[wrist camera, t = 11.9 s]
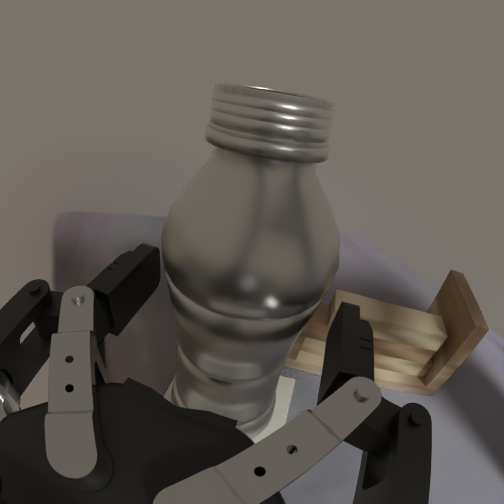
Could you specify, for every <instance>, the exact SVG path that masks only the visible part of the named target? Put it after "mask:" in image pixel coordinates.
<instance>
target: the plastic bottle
mask: <svg viewBox="0 0 504 504" xmlns="http://www.w3.org/2000/svg"><path fill="white" fill-rule="evenodd" d="M333 106H334V103H333V102H330V101H327V100H323V99H319V98H315V97H311V96H307V95H303V94H298V93H293V92H288V91H282V90H277V89H270V88H264V87H257V86H250V85H240V84H229V83H215V89H213V98H212V107H211V116H210V122H209V123H207V124H206V134H205V139H206V141H207V142H209V143H211V144H212V145H214V149H213V152H212V156H211V158H210V159H209V160H208V161H207V162H206V163H205V164H204V165H203V166H202V167H201V168H200V170H198V172H197V173H196V174H195V175H194V176H193V177H192V178H191V179H190V180H189V182H188V183H187V184H186V186H185V187H184V189H183V190H182V191H181V193H180V194H179V196H178V197H177V199H176V200H175V201H174V203H173V204H172V206H171V207H170V209H169V212H168V215H167V218H166V221H165V224H164V227H163V230H162V235H161V243H162V255H163V262H164V268H165V272H166V277H167V282H168V287H169V292H170V297H171V301H172V306H173V310H174V317H175V327H176V335H177V345H178V358H177V369H176V374H175V377H174V381H173V385H172V391H171V403H172V404H174V405H176V406H178V407H183V408H190V409H197V410H204V411H210V412H213V413H216V414H219V415H222V416H225V417H228V418H231V419H234V420H237V421H238V422H237V425H236V428H237V429H239V430H240V431H242V432H243V433H245V434H246V435H247V436H248V437H249V438H250V439H254V438H255V437H257V436H258V435H259V434H260V433H262V431H263V430H264V429H265V428H266V427H267V426H268V424H269V423H270V421H271V419H272V416H273V412H274V408H275V403H276V389H277V385H278V381H279V377H280V374H281V370H282V368H283V366H284V364H285V362H286V360H287V358H288V356H289V354H290V352H291V350H292V348H293V346H294V344H295V342H296V340H297V338H298V337H299V335H300V333H301V332H302V330H303V329H304V327H305V326H306V324H307V323H308V321H309V320H310V318H311V316H312V315H313V313H314V312H315V310H316V309H317V307H318V305H319V304H320V302H321V301H322V299H323V297H324V295H325V294H326V293H327V290H328V288H329V286H330V284H331V282H332V280H333V278H334V276H335V274H336V272H337V270H338V267H339V248H340V234H339V231H338V228H337V225H336V221H335V218H334V215H333V212H332V209H331V206H330V204H329V202H328V200H327V197H326V195H325V193H324V191H323V189H322V186H321V184H320V182H319V180H318V178H317V176H316V163H320V162H324V161H326V160H327V159H328V154H329V150H330V144H329V143H328V138H329V133H330V128H331V123H332V118H333V113H334V109H333Z"/></svg>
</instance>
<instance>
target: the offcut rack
mask: <svg viewBox="0 0 504 504" xmlns="http://www.w3.org/2000/svg"><path fill="white" fill-rule="evenodd" d="M342 301H343V302H347V303H351V304H355V305H358V306H360V319H363V320H366V321H368V322H369V324H370V326H371V328H372V330H373V340H374V341H373V343H374V350H373V351H374V381H375V383H376V384H377V386H378V387H379V388H384V389H390V390H396V391H402V392H409V393H416V394H423V395H431V396H433V395H434V394H435V392H436V391H437V390H438V389H439V388H440V387H441V386H442V385H443V384H444V383H445V382H446V381H447V380H448V379H449V378H450V376H451V375H452V374H453V373H454V372H455V371H456V370H457V369H458V367H459V366H460V365H461V364H462V363H463V362H464V360H465V359H466V358H467V357H468V356H469V354H470V353H471V352H472V351H473V349H474V348H475V347H476V346H477V344H478V343H479V342H480V340H481V339H482V338H483V337H484V335H485V334H486V332H487V331H488V330H489V329H488V327H487V324H486V322H485V319H484V317H483V315H482V312H481V310H480V308H479V306H478V304H477V301H476V299H475V297H474V295H473V293H472V291H471V289H470V287H469V285H468V283H467V281H466V279H465V277H464V275H463V274H462V273H459V272H457V271H453V270H450V272H449V274H448V276H447V278H446V280H445V282H444V283H443V285H442V287H441V289H440V291H439V292H438V294H437V296H436V297H435V299H434V301H433V303H432V304H431V306H430V308H429V309H428V311H427V312H422V311H418V310H415V309H411V308H407V307H403V306H399V305H395V304H391V303H388V302H384V301H380V300H376V299H372V298H369V297H365V296H361V295H357V294H354V293H350V292H346V291H342V290H339V289H336V291H335V293H334V296H333V298H332V301H331V303H330V305H328V304H324V303H320V304H319V305H318V307H317V309H316V310H315V312H314V313H313V315H312V316H311V318H310V320H309V321H308V323H307V324H306V326H305V327H304V329H303V330H302V332H301V333H300V335H299V337H298V338H297V340H296V342H295V344H294V346H293V348H292V350H291V352H290V354H289V356H288V358H287V360H286V362H285V364H284V366H285V367H289V368H293V369H296V370H300V371H304V372H308V373H312V374H317V375H322V368H323V361H324V353H325V346H326V339H327V335H328V331H329V329H330V326H331V324H332V322H333V320H334V317H335V315H336V313H337V311H338V308H339V306H340V304H341V302H342Z"/></svg>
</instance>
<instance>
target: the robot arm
mask: <svg viewBox="0 0 504 504" xmlns="http://www.w3.org/2000/svg"><path fill="white" fill-rule="evenodd" d="M159 282H160V251H159V249H158V248H157V247H154V246H151V245H147V244H144V243H142V244H141V245H139V246H138V247H137V248H136V249H135V250H134V251H133V252H132V251H128V252H126V253H124V254H122V255H120V256H119V257H118V258H116V259H115V260H114V261H113V263H111V264H110V265H109V266H108V267H107V269H106V268H105V269H104V270H103V271H102V272H101V273H100V274H99V275H98V276H97V277H96V278H95V279H94V280H93V281H91V282H90V283H89V284H88V285H87V286H75V287H72V288H70V289H68V290H67V291H66V292H65V293H61V292H54V291H51V290H50V287H49V284H48V283H47V282H46V281H45V280H39V279H38V280H33V281H31V282H29V283H27V284H26V285H25V286H24V287H23V288H22V289H21V290H20V291H19V292H18V293H17V294H16V295H15V296H13V297H12V299H10V300H9V302H7V303H6V305H4V307H3V308H2V309H1V310H0V504H286V503H285V501H284V499H283V497H282V495H281V493H280V491H281V490H282V489H284V488H285V487H286V486H288V485H289V484H291V483H292V482H293V481H295V480H296V479H297V478H299V477H300V476H301V475H303V474H304V473H305V472H306V471H308V470H309V469H310V468H311V467H313V466H314V465H315V464H316V463H318V462H319V461H320V460H321V459H322V458H324V457H325V456H326V455H327V454H328V453H330V452H331V451H332V450H333V449H334V448H335V447H337V446H338V445H339V444H340V443H341V442H342V441H345V442H347V443H349V444H351V445H353V446H355V447H357V448H359V449H361V450H363V454H362V460H361V466H360V471H359V476H358V482H357V486H356V491H355V496H354V500H353V504H428V500H429V489H430V476H431V453H432V422H431V416H430V414H429V412H428V411H427V409H426V408H425V407H423V406H422V405H420V404H417V403H408V404H406V405H404V406H403V407H399V406H397V405H395V404H393V403H391V402H389V401H388V400H386V399H385V398H383V397H382V396H381V391H380V389H379V387H378V386H377V384H376V383H375V381H374V351H373V350H374V343H373V341H374V340H373V330H372V328H371V326H370V324H369V322H368V321H366V320H363V319H360V306H358V305H355V304H351V303H347V302H343V301H342V302H341V304H340V306H339V308H338V311H337V313H336V315H335V317H334V320H333V322H332V324H331V326H330V329H329V331H328V335H327V339H326V346H325V353H324V361H323V368H322V375H321V382H320V388H319V395H318V401H317V406H316V407H315V408H314V409H312V410H306V411H304V412H302V413H301V414H299V415H298V416H297V417H295V418H294V419H292V420H291V421H289V422H288V423H287V424H285V425H284V426H282V427H281V428H279V429H278V430H276V431H275V432H273V433H272V434H270V435H268V436H267V437H265V438H264V439H262V440H261V441H259V442H257V443H256V444H255V443H254V442H253V440H252V439H250V438H249V437H248V436H247V435H246V434H245V433H243V432H242V431H240V430H239V429H237V428H236V425H237V422H238V421H237V420H234V419H231V418H228V417H225V416H222V415H219V414H216V413H213V412H210V411H204V410H197V409H190V408H183V407H178V406H176V405H174V404H172V403H171V402H170V401H168V400H167V399H166V398H164V397H163V396H162V395H160V394H159V393H158V392H156V391H155V390H154V389H152V388H150V387H148V386H145V385H143V384H141V383H139V382H137V381H135V380H133V379H130V378H127V380H126V381H125V383H124V384H121V383H111V382H110V378H109V373H108V362H107V349H106V338H105V336H106V335H107V334H108V332H109V333H111V334H113V335H115V336H118V335H119V334H120V333H121V331H122V330H123V329H124V328H125V326H126V325H127V324H128V323H129V321H130V320H131V319H132V318H133V316H134V315H135V314H136V313H137V312H138V310H139V309H140V308H141V307H142V305H143V304H144V303H145V302H146V301H147V299H148V298H149V297H150V296H151V294H152V293H153V292H154V291H155V290H156V288H157V287H158V284H159ZM32 322H33V323H34V325H35V328H34V329H33V330H32V331H31V333H30V334H29V335H28V336H27V337H26V338H25V340H24V341H23V342H22V343H21V344H20V337H21V335H22V333H23V332H24V331H25V330H26V329H27V327H28V326H29V325H30V324H31V323H32ZM49 357H50V361H49V383H48V384H49V387H48V402H45V403H42V404H39V405H36V406H33V407H30V408H26V409H23V410H21V408H20V407H19V405H20V396H21V395H22V393H23V392H24V391H25V389H26V388H27V387H28V385H29V384H30V382H31V381H32V379H33V378H34V377H35V375H36V374H37V373H38V371H39V370H40V369H41V367H42V366H43V365H44V363H45V362H46V360H47V359H48V358H49Z"/></svg>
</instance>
